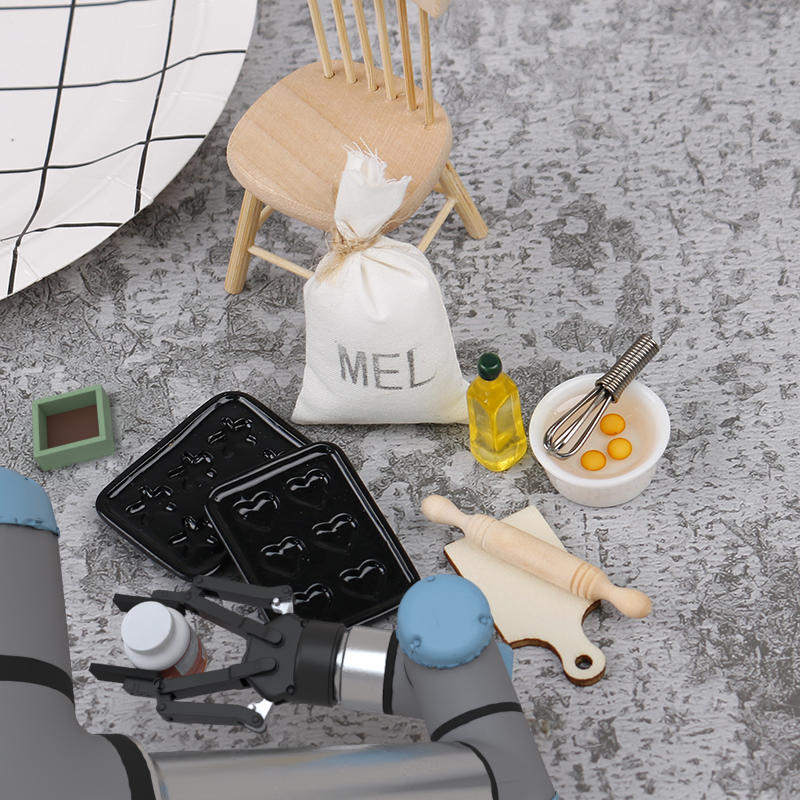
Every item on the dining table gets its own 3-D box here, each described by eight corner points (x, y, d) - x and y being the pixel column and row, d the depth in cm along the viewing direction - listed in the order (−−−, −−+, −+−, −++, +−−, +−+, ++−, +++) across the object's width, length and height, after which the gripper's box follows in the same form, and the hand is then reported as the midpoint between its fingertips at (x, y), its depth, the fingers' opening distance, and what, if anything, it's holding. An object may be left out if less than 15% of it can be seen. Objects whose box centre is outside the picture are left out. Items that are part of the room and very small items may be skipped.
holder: (114, 454, 121) (106, 439, 118) (44, 472, 120) (33, 457, 117) (109, 399, 126) (101, 383, 123) (41, 416, 125) (31, 400, 122)
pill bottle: (135, 679, 94) (97, 640, 85) (171, 625, 97) (138, 582, 88) (186, 707, 92) (153, 670, 83) (221, 651, 95) (192, 610, 86)
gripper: (329, 784, 84) (86, 749, 87) (365, 586, 95) (147, 562, 98) (317, 762, 78) (56, 725, 81) (357, 553, 89) (125, 528, 92)
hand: (106, 636), depth 90 cm, fingers closed on pill bottle, 6 cm apart
